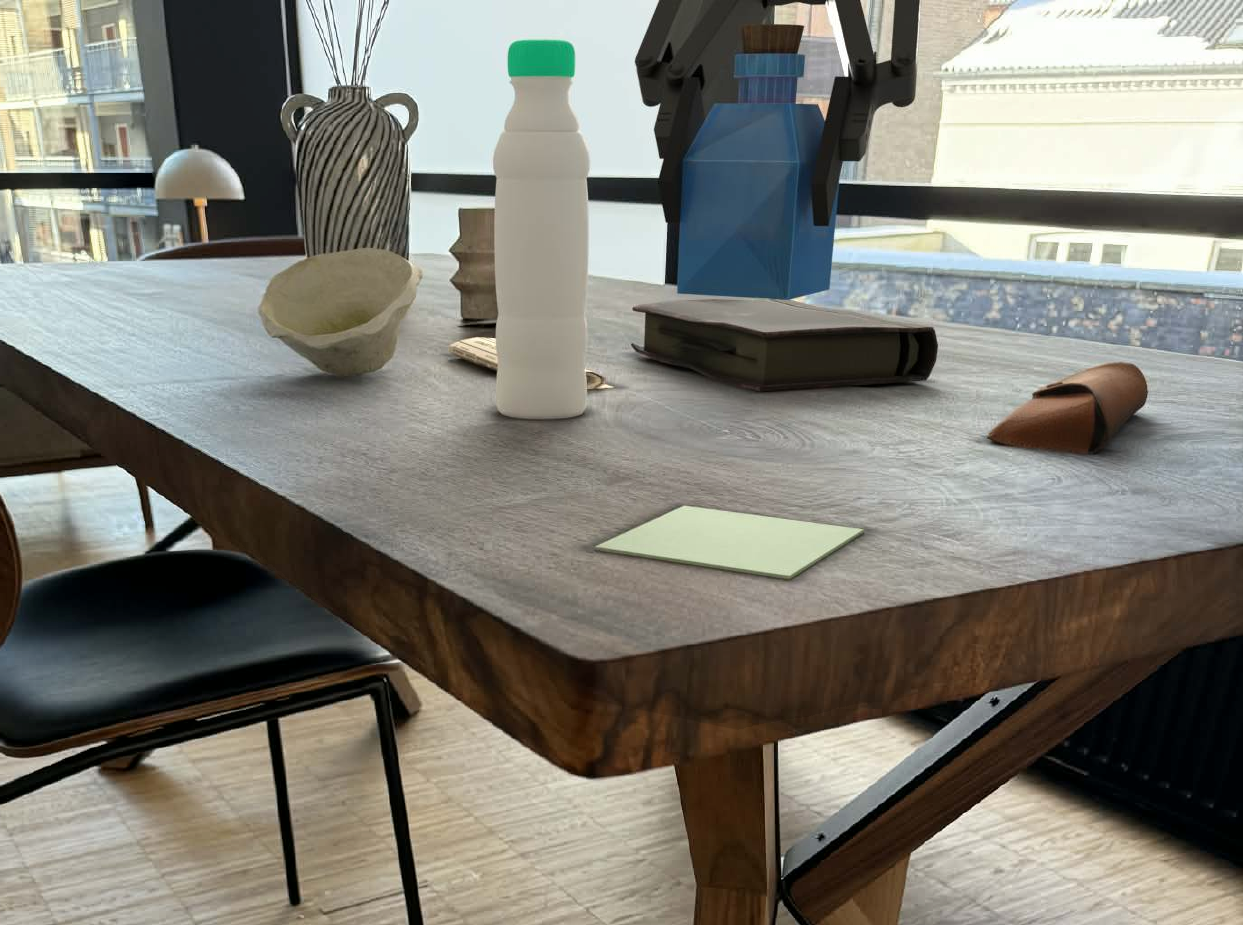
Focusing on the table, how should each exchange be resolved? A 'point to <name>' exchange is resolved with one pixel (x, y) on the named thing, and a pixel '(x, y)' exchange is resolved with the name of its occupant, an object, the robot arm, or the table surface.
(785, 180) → the perfume bottle
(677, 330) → the diary
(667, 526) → the mat
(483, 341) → the newspaper
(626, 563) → the table surface
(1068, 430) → the sunglasses case
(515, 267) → the water bottle
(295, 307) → the bowl
